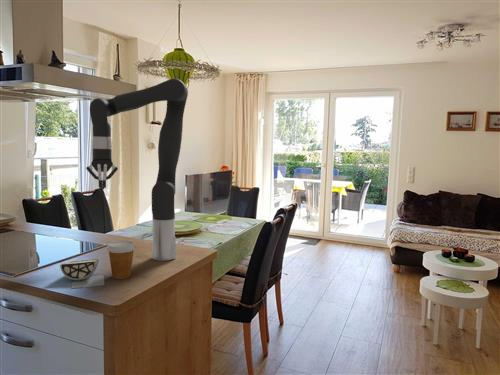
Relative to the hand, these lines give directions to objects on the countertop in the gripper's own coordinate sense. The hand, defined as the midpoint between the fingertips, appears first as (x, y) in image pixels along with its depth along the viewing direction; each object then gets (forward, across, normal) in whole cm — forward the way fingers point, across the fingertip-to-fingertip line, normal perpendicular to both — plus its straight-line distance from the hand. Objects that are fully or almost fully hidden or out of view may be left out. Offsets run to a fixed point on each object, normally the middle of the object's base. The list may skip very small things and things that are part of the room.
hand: (102, 189), depth 158 cm
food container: (+27, -6, -21) cm, 35 cm away
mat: (+29, -5, -32) cm, 43 cm away
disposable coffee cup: (+29, +6, -28) cm, 41 cm away
